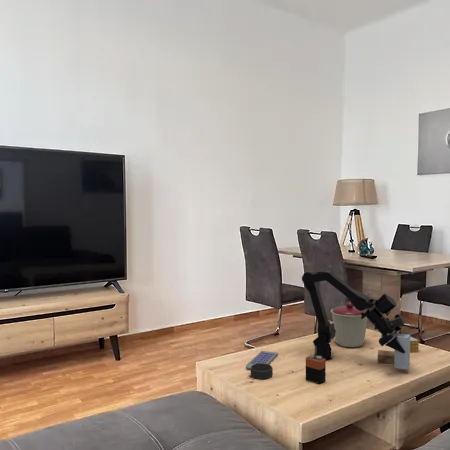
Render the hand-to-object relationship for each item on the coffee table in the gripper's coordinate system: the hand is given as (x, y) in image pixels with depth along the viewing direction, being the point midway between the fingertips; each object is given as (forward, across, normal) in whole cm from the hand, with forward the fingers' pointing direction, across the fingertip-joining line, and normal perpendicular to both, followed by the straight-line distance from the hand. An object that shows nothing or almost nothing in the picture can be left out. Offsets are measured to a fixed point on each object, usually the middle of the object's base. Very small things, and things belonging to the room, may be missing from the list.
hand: (405, 351), depth 193 cm
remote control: (-33, -19, +47) cm, 60 cm away
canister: (-15, +25, +28) cm, 41 cm away
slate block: (+4, 0, +6) cm, 7 cm away
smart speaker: (-28, -33, +41) cm, 60 cm away
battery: (-13, -27, +26) cm, 40 cm away
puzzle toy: (+4, +30, +9) cm, 31 cm away
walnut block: (0, +9, +13) cm, 16 cm away
